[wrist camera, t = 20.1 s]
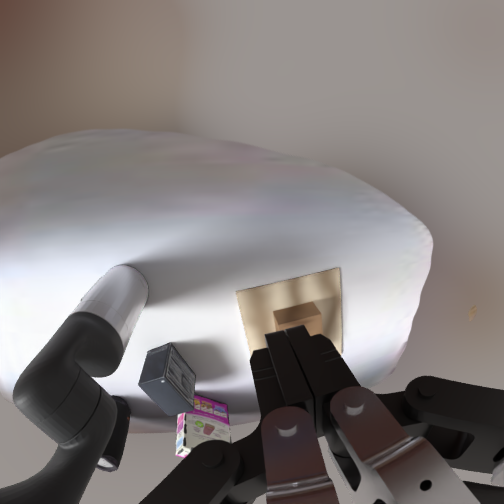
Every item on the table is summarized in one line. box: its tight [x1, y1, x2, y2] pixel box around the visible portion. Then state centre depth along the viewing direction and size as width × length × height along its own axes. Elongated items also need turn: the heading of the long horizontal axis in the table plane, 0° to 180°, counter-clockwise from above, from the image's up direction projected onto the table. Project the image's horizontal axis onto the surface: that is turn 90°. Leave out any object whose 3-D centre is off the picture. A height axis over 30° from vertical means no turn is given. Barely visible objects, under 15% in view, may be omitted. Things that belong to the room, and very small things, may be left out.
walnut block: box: [273, 301, 323, 336], centre depth 51 cm, size 8×5×11 cm
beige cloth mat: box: [236, 268, 342, 356], centre depth 53 cm, size 20×22×1 cm
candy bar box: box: [175, 394, 232, 458], centre depth 50 cm, size 11×5×16 cm, turn 58°
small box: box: [138, 343, 196, 416], centre depth 48 cm, size 11×6×10 cm, turn 24°
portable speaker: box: [96, 396, 131, 472], centre depth 46 cm, size 9×9×20 cm
